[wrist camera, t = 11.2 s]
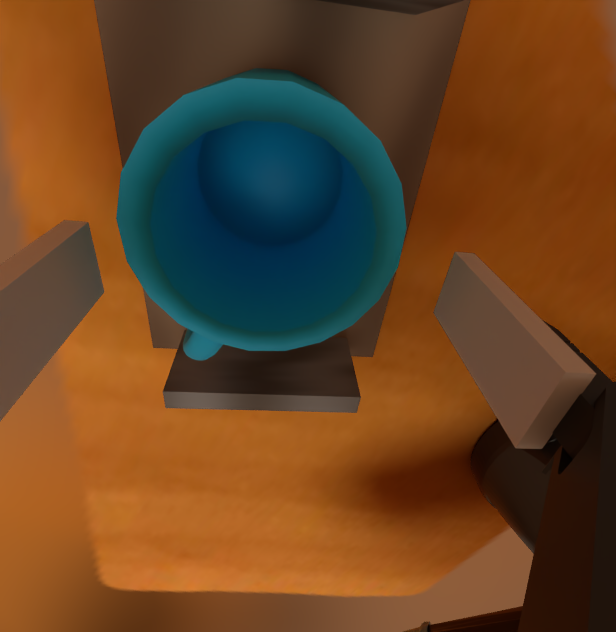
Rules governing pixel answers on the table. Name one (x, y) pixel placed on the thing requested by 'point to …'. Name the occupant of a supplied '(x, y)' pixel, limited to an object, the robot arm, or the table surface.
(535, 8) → the table surface
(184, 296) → the mug
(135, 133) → the holder
